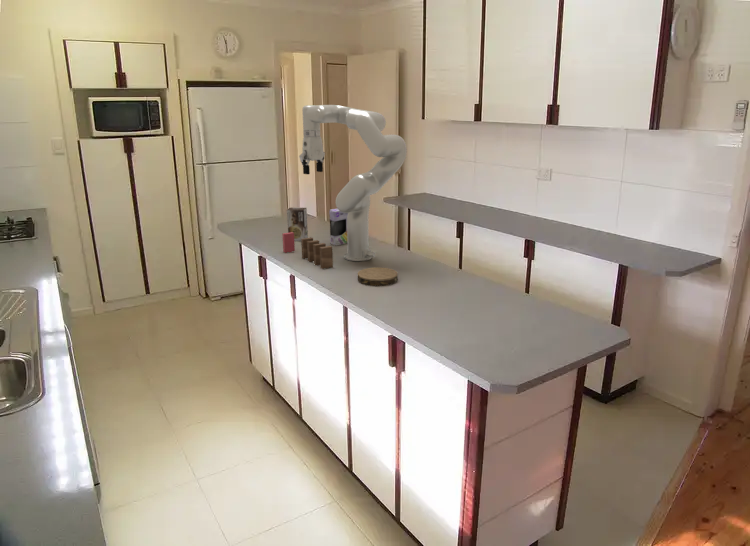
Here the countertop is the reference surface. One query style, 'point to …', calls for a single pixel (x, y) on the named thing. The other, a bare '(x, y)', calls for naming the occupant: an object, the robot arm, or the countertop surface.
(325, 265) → the domino
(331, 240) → the cake pan box
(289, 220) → the coffee box
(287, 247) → the maroon domino
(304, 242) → the domino
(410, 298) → the countertop surface
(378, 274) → the wooden log slice
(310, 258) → the domino
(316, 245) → the domino
